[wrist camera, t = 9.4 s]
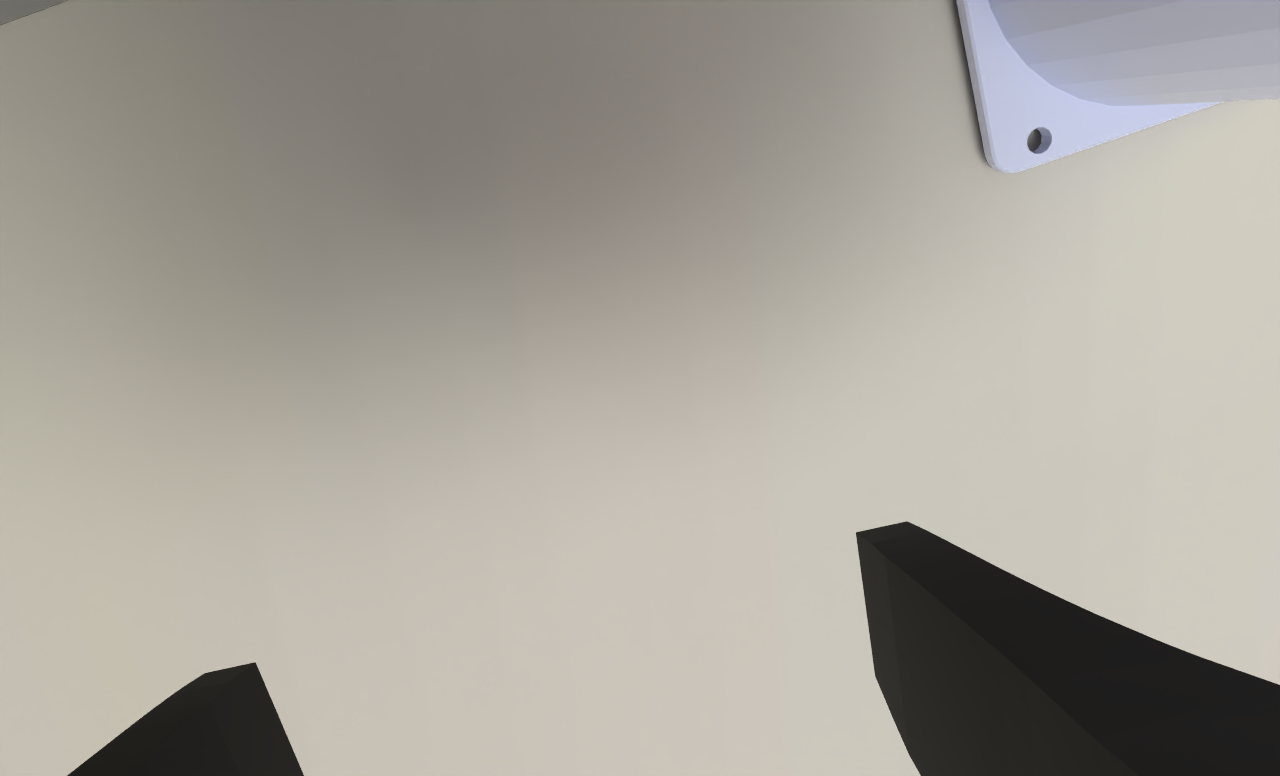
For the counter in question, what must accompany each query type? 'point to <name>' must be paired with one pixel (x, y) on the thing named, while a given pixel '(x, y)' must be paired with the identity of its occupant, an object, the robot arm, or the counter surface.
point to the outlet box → (22, 8)
